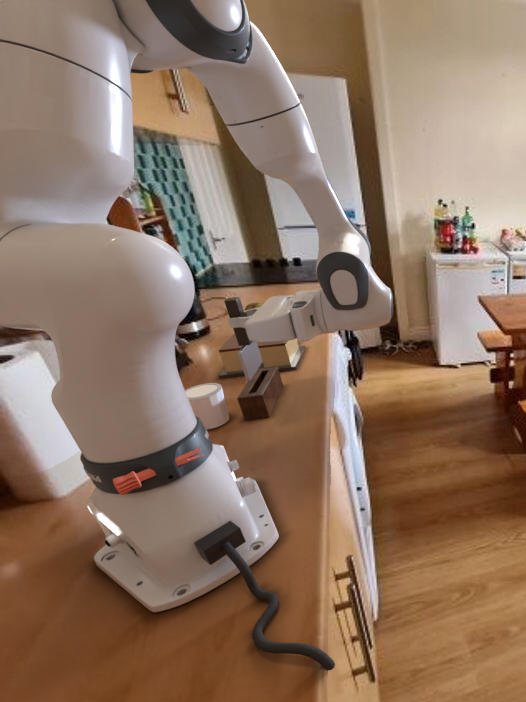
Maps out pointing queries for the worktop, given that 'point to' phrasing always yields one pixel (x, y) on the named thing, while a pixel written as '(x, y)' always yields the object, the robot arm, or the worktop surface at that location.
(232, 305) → the knife
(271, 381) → the knife block
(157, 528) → the robot arm
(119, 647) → the worktop surface
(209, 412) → the white cylinder
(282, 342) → the cake
